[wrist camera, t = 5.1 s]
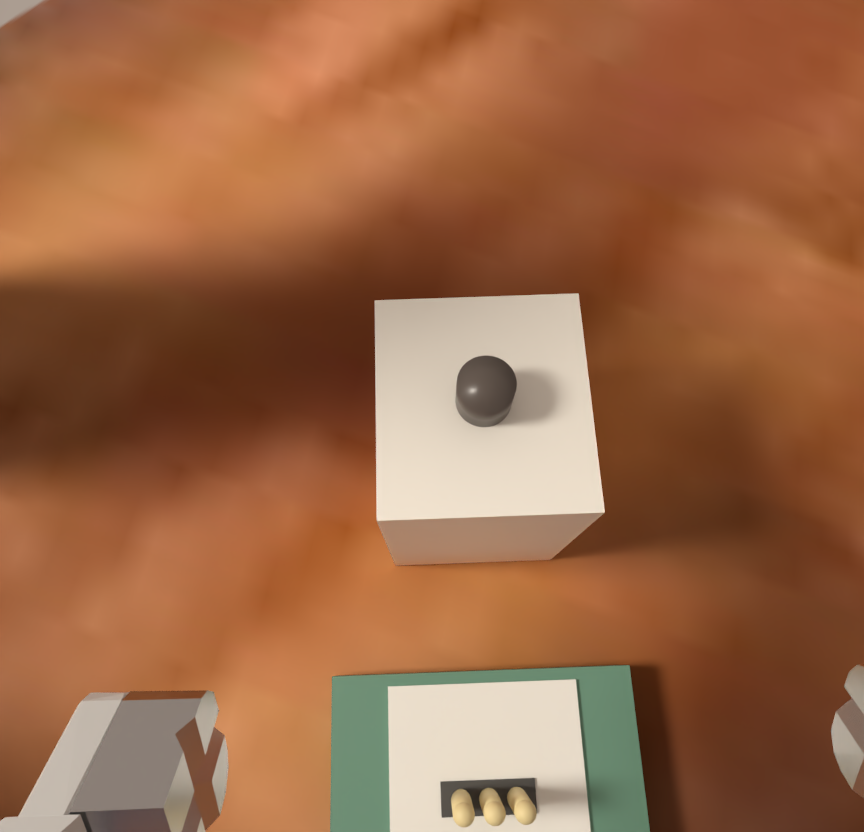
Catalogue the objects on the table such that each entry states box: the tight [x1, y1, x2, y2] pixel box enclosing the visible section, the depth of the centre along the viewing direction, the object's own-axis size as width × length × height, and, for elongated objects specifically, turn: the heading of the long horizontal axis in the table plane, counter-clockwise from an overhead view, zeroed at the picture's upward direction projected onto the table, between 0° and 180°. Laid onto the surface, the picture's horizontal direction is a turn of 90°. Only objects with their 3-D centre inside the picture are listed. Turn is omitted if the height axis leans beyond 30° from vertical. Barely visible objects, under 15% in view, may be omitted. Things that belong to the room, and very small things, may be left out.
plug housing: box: [375, 293, 605, 566], centre depth 18 cm, size 5×5×8 cm
